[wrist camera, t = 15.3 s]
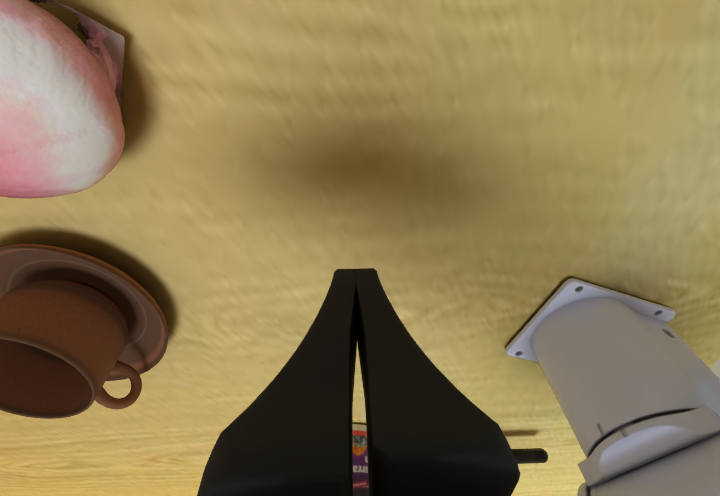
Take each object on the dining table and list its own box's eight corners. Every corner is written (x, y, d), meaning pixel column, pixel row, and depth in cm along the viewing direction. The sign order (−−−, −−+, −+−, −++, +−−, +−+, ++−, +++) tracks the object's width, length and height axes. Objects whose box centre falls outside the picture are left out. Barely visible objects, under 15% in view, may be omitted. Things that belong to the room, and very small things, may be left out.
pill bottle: (392, 429, 36) (404, 556, 28) (366, 454, 39) (370, 576, 31) (341, 416, 34) (338, 547, 26) (317, 444, 37) (309, 569, 29)
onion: (-78, 9, 16) (-331, 26, 10) (81, -56, 15) (-99, -80, 9) (61, 178, 20) (-56, 258, 14) (189, 138, 19) (120, 207, 13)
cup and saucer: (204, 285, 25) (168, 362, 20) (146, 377, 30) (106, 456, 25) (-6, 192, 21) (-120, 261, 16) (-29, 319, 26) (-118, 400, 21)
